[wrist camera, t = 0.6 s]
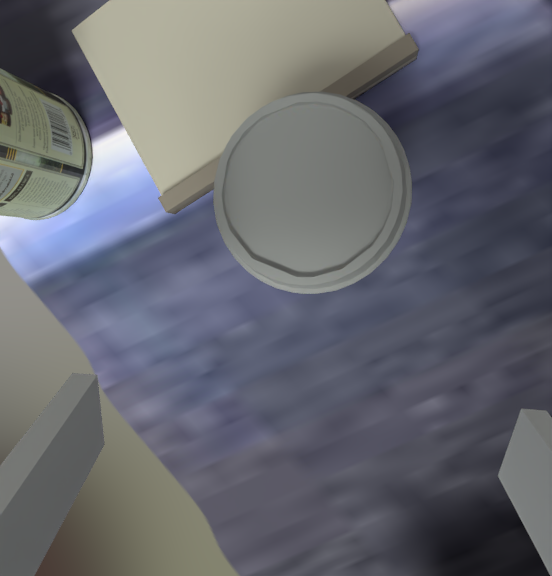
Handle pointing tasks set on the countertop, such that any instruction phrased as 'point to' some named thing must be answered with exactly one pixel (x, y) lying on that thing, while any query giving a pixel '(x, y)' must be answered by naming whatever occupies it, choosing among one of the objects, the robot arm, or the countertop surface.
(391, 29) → the cream flat rectangular board
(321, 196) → the disposable coffee cup
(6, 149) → the coffee can
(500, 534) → the countertop surface
